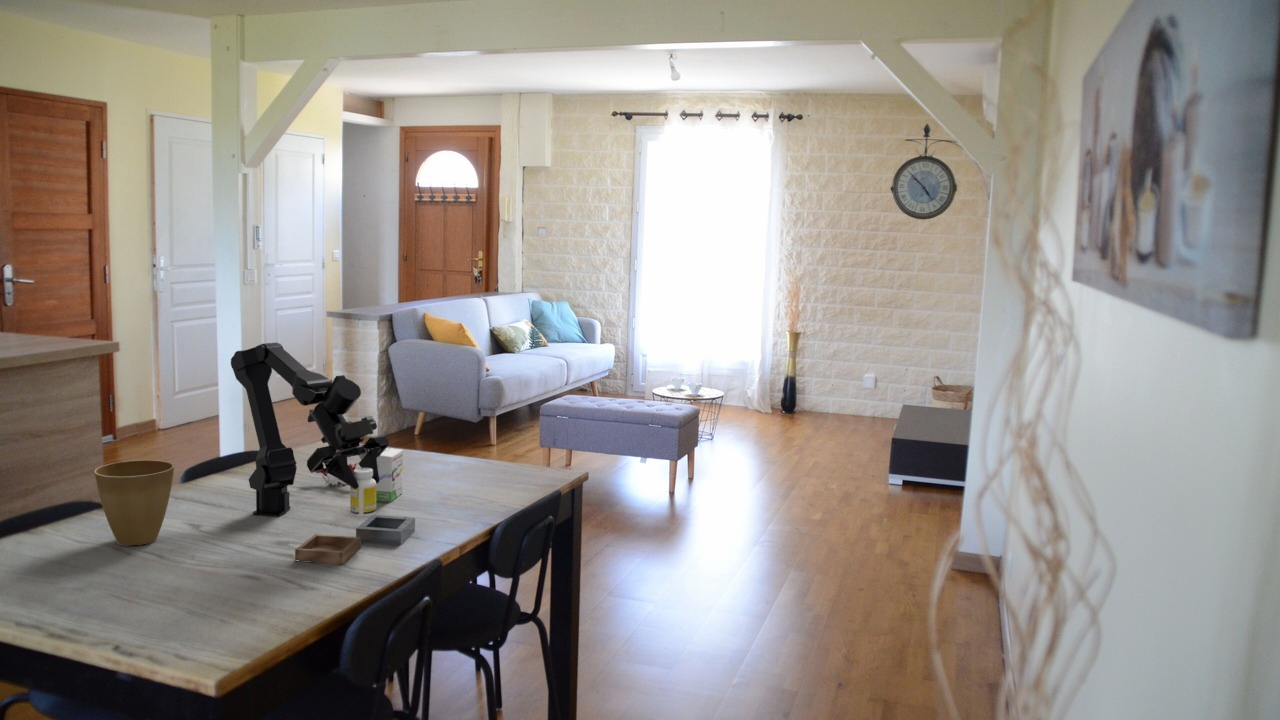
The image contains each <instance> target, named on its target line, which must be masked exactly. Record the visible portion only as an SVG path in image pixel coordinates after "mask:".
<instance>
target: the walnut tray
mask: <svg viewBox="0 0 1280 720" xmlns="http://www.w3.org/2000/svg"><path fill="white" fill-rule="evenodd" d="M361 544H362V542H361V537H356V536H349V535H348V536H347V535H346V536H345V535H334V534H332V535H331V534H318V533H317V534H316V533H315V534H313V535H312V536H311V537H309V538H308V539H307V540H306V541H304V542H303V543H302V544H300V545H299V546H298V547H297V548H295V549H294V553H295V554H294V556H295V557H294V558H295V560H299V561H310V562H309V563H312V562H318V563H317V564H326V563H327V564H328V565H341V566H343V565H345V563H347V562H348V561H349V560H350V559H351V558H352V557H353V556H354V555H355V554H356V553H357V552H359V551H360V550H361V547H362V546H361ZM319 562H320V563H319Z"/></svg>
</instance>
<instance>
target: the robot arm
mask: <svg viewBox="0 0 1280 720" xmlns="http://www.w3.org/2000/svg"><path fill="white" fill-rule="evenodd" d="M230 366H231V369H232V370H233V374H234V376H235V379H236V381H238V383H240V385H241V386H243V388H245V391H246V395H247V398H248V399H247V400H248V404H249V408H250V411H251V417H252V421H253V425H254V430H255V433H256V437H257V441H258V447H259V450H258V453H257V455H256V458H255V470H254V471H253V472H252V474H251V475H250V477H249V478H248V482H249V483H248V484H249V488H250V489H253V490H255V503H256V504H255V507H256V508H255V510H254V511H253V512H252V514H253V515H257V516H260V515H261V516H273V517H274V516H275V517H276V516H277V517H279V516H282V515H283V514H285V513H286V512H287V511H289V510H291V508H292V507H291V506H290V491H288V486H293V485H294V481H295V479H296V478H295V477H296V474H297V468H298V467H297V461H296V459H295V455H294V449H292V448H293V447H289V446H288V447H287V446H286V445H285V443H283V442H282V438H281V434H280V430H279V425H278V421H277V417H276V412H275V409H274V405H273V401H272V400H273V399H272V396H271V391H270V387H269V382H270V378H271V376H272V372H273V371H275V372H276V374H278V375H279V376H280V377H281V378H282V379H283V380H284V381H286V382H287V383H288V384H289V385H290V387H292V389H291V391H292V392H291V393H292V395H293V397H295V399H296V400H297V401H298V403H299V404H300V405H301V406H312V405H313V406H314V405H315V406H314V408H313V409H309V412H308V416H307V422H308V423H313V422H315V424H316V426H317V427H318V429H319V431H320V432H321V434H322V436H323V437H322V438H320V441H321V442H322V444H327V445H326V446H321V447H318V448H316V449H315V450H314V451H313V453H312V454H311V455H310V456H309V458H308V459H307V460H306V467H307V468H308V470H309V473H311V474H313V473H316V472H318V471H321V470H322V469H323V468H325V469H324V471H323V472H324V473H329V474H331V475H332V476H334V477H336V478H338V479H340V480H341V481H343V482H345V483H346V485H348V486H349V487H350V486H351V487H352V488H354V489H357V488H358V487H359V485H358V483H357V481H356V479H355V477H354V475H353V473H352V471H351V469H350V468H349V466H348V465H349V462H348V458H351V457H356V456H358V457H359V459H360V461H359V462H357V465H359V468H371V469H373V476H372V478H373V479H374V480H375V481H376V484H378V483H379V481H380V480H379V474H378V468H377V457H379V456H380V455H381V454H382V452H383V451H384V450H385V449H386V448H389V446H390V444H391V442H390V441H389V439H388V437H387V436H386V435H383V434H381V435H377V436H376V435H375V436H371V437H369V438H368V439H367V440H366V442H365V443H364V444H361V443H362V442H363V441H364V440H365V436H368V435H372V434H374V430H377V428H378V424H377V421H376V420H375V419H374V417H373V415H368V416H365V417H362V418H361V420H358V421H353V422H352V421H347V420H346V418H345V416H344V415H345V414H347V413H348V412H349V411H350V410H351V409H352V407H353V406H354V404H355V403H356V402H357V401H358V399H359V398H360V396H361V395H362V391H361V388H360V386H359V385H358V384H357V383H356V382H354V381H353V380H350V379H348V378H346V375H345V374H343V375H342V374H341V375H336V376H335V377H334V378H333V381H332V380H330V379H329V378H328V377H326V376H325V375H323V374H321V373H318V372H314V371H311V370H308V369H307V368H306V367H305V366H303V364H301V363H300V362H299V361H298V360H297V359H296V358H295V357H294V356H292V355H291V354H290V353H289V352H287V350H285V348H284V346H283V345H282V344H281V343H279V342H266V343H261V344H258V345H257V346H255V347H251V348H248V349H244V350H237V351H236V352H234V355H233V356H232V357H231V359H230ZM324 466H325V467H324Z"/></svg>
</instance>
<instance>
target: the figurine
mask: <svg viewBox="0 0 1280 720" xmlns="http://www.w3.org/2000/svg"><path fill="white" fill-rule="evenodd" d="M357 465H358V462H355V463H354V464H352V463H348V466H349V468H350V469H351V471H352V473H353V475H354V470H355V469H356V467H357ZM325 468H326V467H323V469H322V470H321V471H318V472H315V473H316V474H323V475H322V476H321V478H322V479H323V480H324V482H325V483H324V487H326V486H327V485H328V484H331V486H334V485H335V487H337V485H338V483H340V484H342V485H347V484H346V483H345V482H343V481H341V480H340V479H338V478H336V477H334V476H332V475H331V474H329V473H324V472H323V471H324V469H325Z"/></svg>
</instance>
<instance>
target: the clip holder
mask: <svg viewBox="0 0 1280 720" xmlns="http://www.w3.org/2000/svg"><path fill="white" fill-rule="evenodd" d="M415 529H416V517H409V516H406V517H405V516H395V515H394V516H393V515H391V516H390V515H376V514H374V515H372V516H368V517H367V519H365V520H364V521H363V522H362V523H360V525H358V526H357V527H356V528H355V537H361V543H367V544H369V543H371V544H381V545H382V544H386V545H398V546H399V545H400V546H401V545H403V543H405V541H406V540H407V539H408V538H409V537H410V536H411V535H412V534H413V533H414V532H415V531H416V530H415Z"/></svg>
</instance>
